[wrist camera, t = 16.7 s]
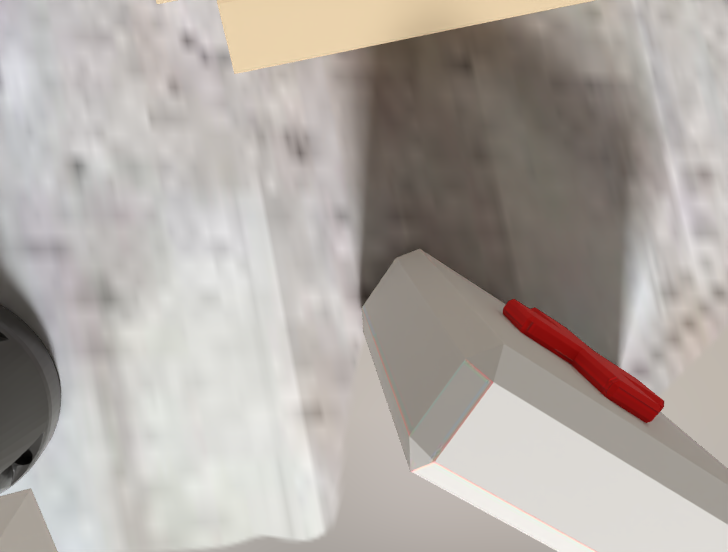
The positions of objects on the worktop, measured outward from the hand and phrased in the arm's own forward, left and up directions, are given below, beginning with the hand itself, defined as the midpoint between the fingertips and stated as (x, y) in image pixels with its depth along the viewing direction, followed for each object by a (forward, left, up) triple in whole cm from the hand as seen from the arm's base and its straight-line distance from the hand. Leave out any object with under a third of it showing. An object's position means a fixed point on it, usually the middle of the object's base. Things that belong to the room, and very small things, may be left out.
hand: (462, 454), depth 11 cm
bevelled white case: (+10, -14, -35) cm, 39 cm away
